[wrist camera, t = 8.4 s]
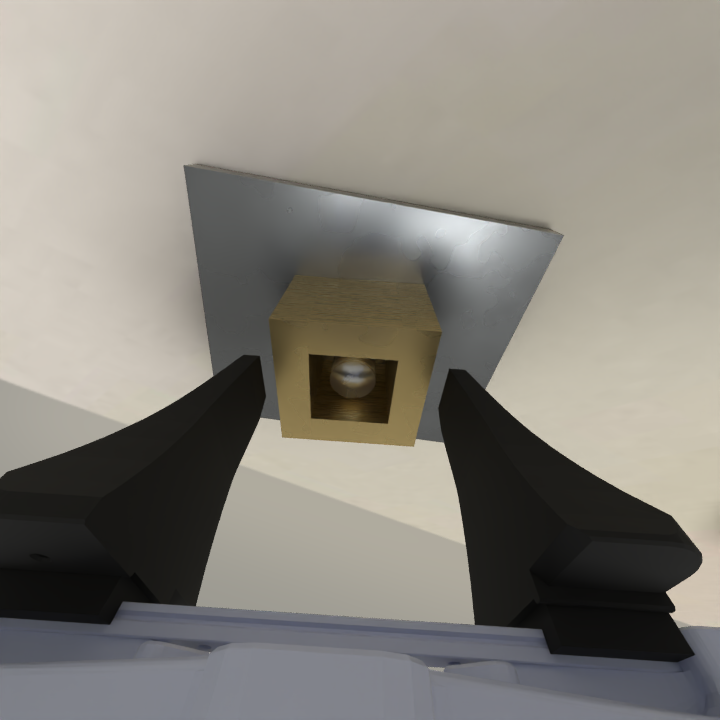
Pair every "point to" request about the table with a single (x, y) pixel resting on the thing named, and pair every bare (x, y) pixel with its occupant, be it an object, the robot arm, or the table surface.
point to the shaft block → (357, 271)
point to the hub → (353, 339)
